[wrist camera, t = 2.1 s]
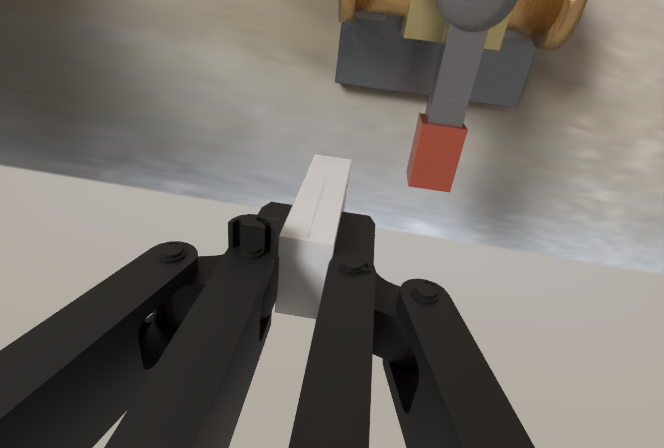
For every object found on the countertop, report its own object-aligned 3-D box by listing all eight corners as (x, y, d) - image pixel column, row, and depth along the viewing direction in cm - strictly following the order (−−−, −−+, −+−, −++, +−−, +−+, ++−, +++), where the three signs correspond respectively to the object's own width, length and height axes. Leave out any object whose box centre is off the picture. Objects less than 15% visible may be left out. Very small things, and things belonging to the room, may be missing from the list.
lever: (443, -61, 21) (451, -67, 19) (521, -52, 21) (536, -57, 19) (396, 170, 28) (397, 184, 25) (454, 178, 27) (460, 193, 25)
